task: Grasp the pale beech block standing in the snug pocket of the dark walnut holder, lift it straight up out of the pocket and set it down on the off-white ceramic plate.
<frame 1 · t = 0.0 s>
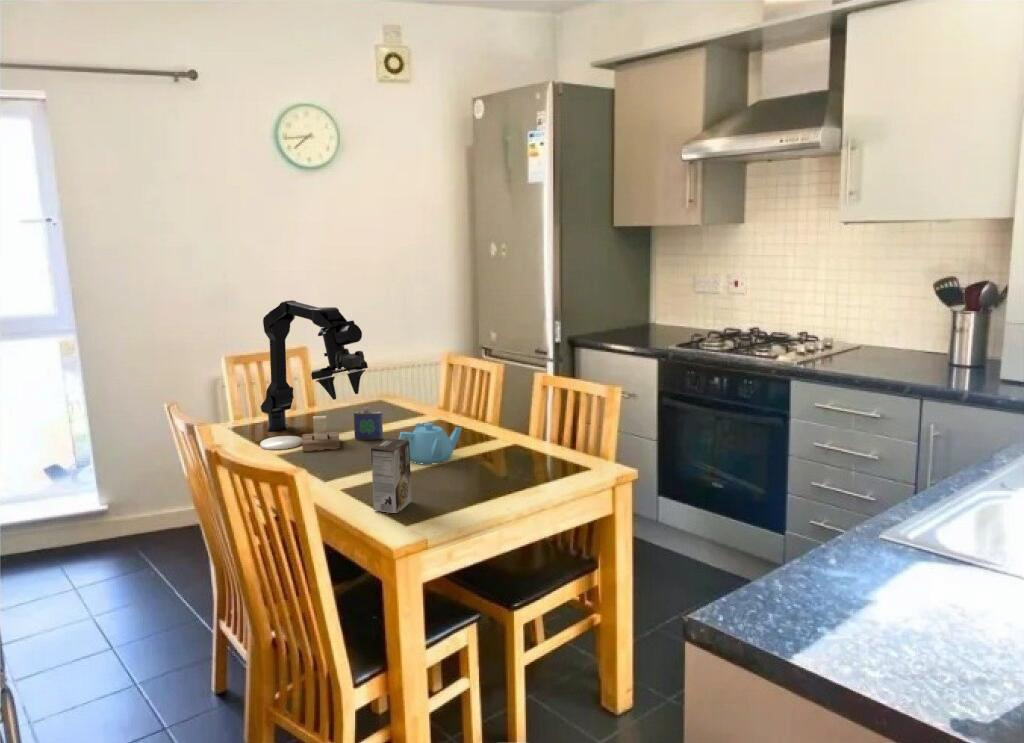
hand: (346, 396, 240), 15 cm above the table, tool pointing down, fingers open, 9 cm apart
coffee box: (392, 507, 189), on the table
holder: (321, 445, 242), on the table
flask: (368, 439, 249), on the table
teapot: (430, 459, 228), on the table
block: (320, 431, 241), in the holder
plate: (282, 443, 244), on the table
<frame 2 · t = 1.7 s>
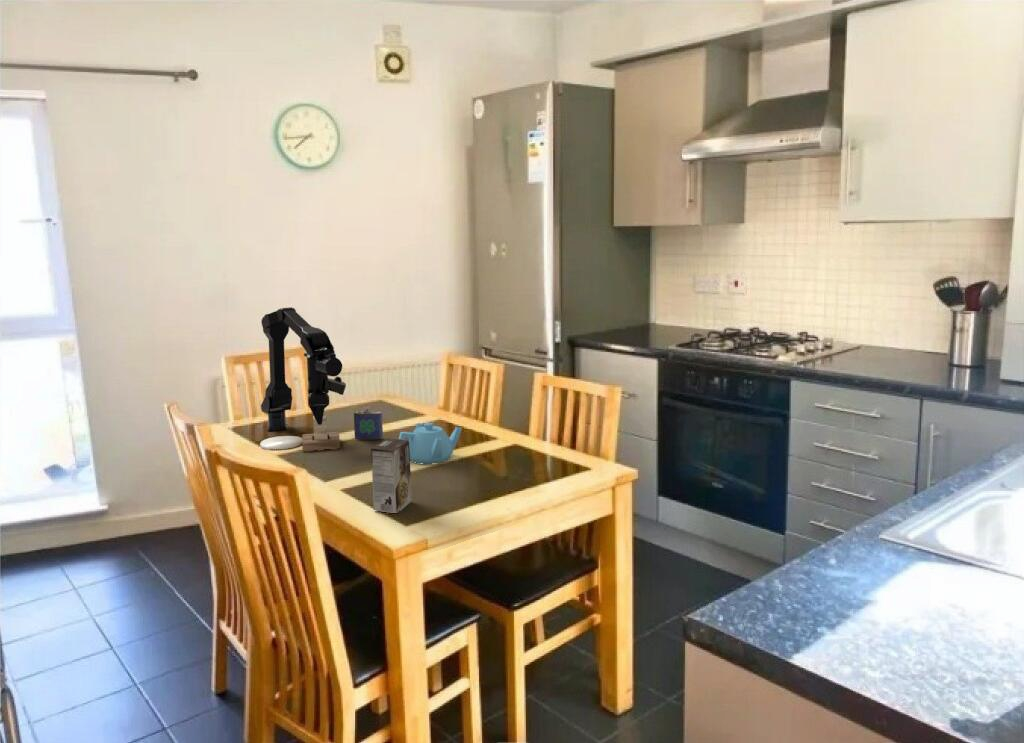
hand: (319, 420, 241), 8 cm above the table, tool pointing down, fingers open, 9 cm apart
nothing on the table moved.
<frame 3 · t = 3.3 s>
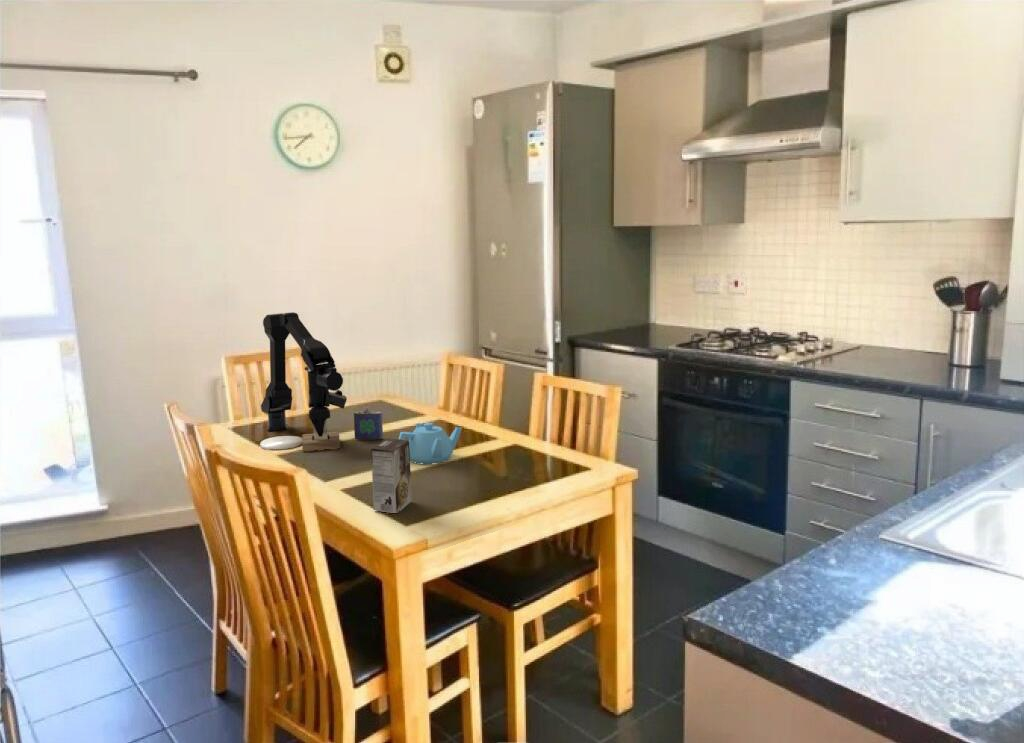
hand: (320, 434, 241), 4 cm above the table, tool pointing down, fingers closed on block, 4 cm apart
block: (320, 431, 241), in the holder, touching gripper
everything else where it was.
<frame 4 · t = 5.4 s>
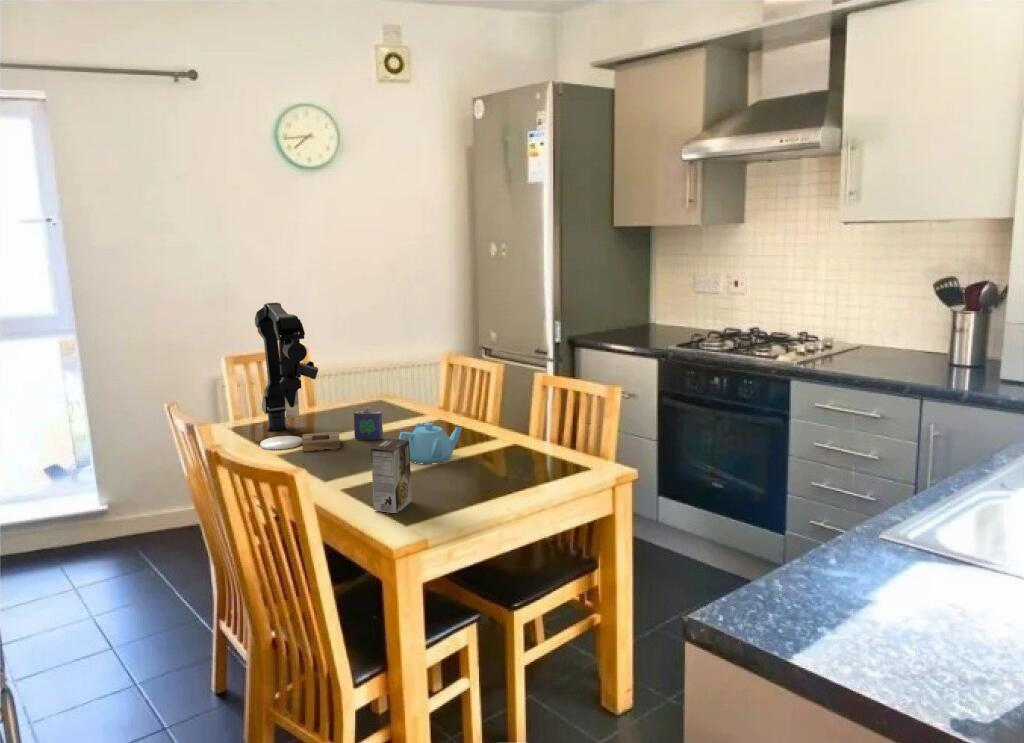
hand: (292, 405, 241), 13 cm above the table, tool pointing down, fingers closed on block, 4 cm apart
block: (291, 402, 241), point 14 cm above the table, touching gripper
everything else where it was.
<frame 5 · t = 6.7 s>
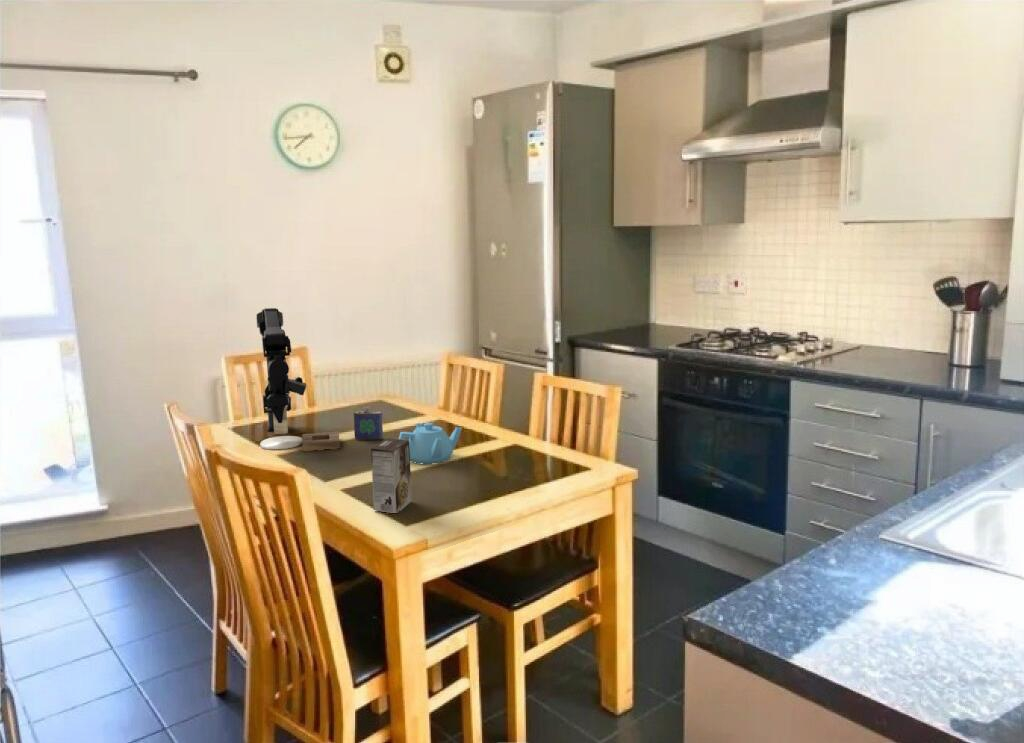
hand: (280, 421, 243), 7 cm above the table, tool pointing down, fingers closed on block, 4 cm apart
block: (280, 418, 242), point 8 cm above the table, touching gripper
everything else where it was.
when the fingers open (5 cm above the table, at t = 7.8 s): block drops 1 cm, resting on plate.
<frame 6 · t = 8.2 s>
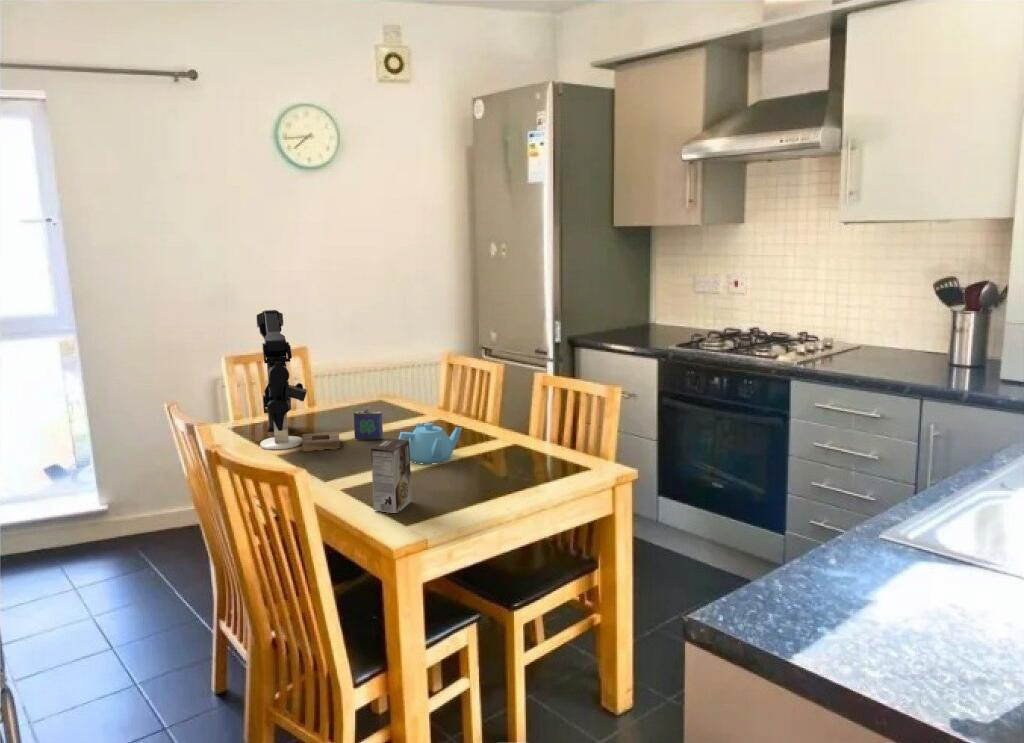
hand: (280, 427, 243), 5 cm above the table, tool pointing down, fingers open, 8 cm apart
block: (280, 427, 243), on the plate, point 5 cm above the table
everything else where it was.
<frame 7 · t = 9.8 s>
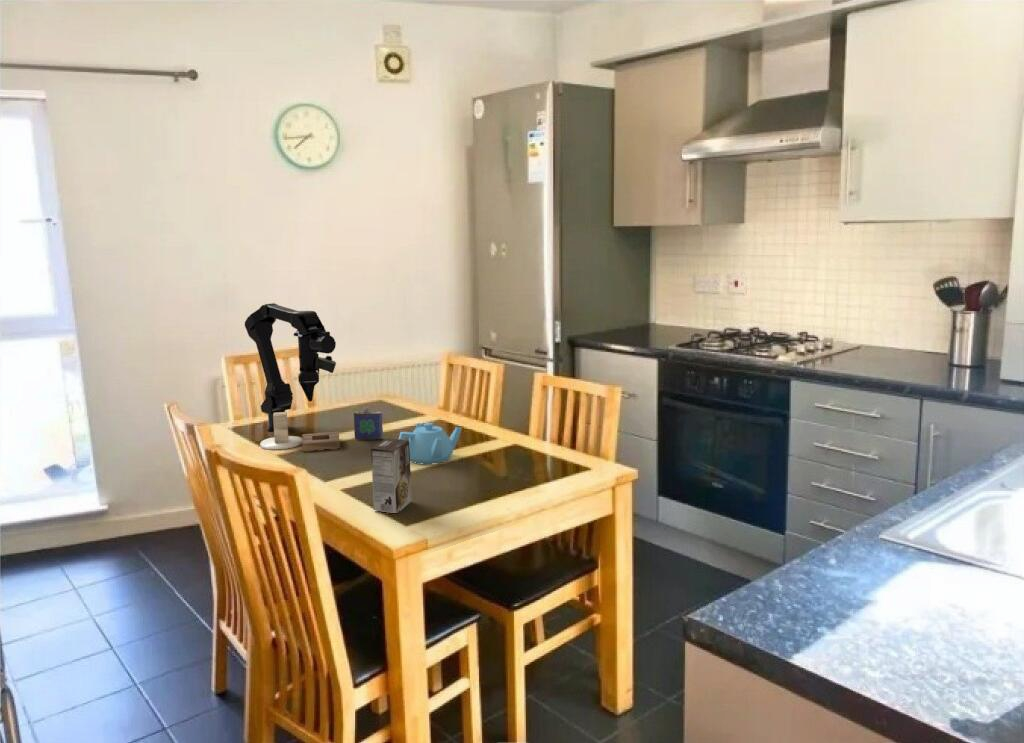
hand: (310, 398, 249), 13 cm above the table, tool pointing down, fingers open, 9 cm apart
nothing on the table moved.
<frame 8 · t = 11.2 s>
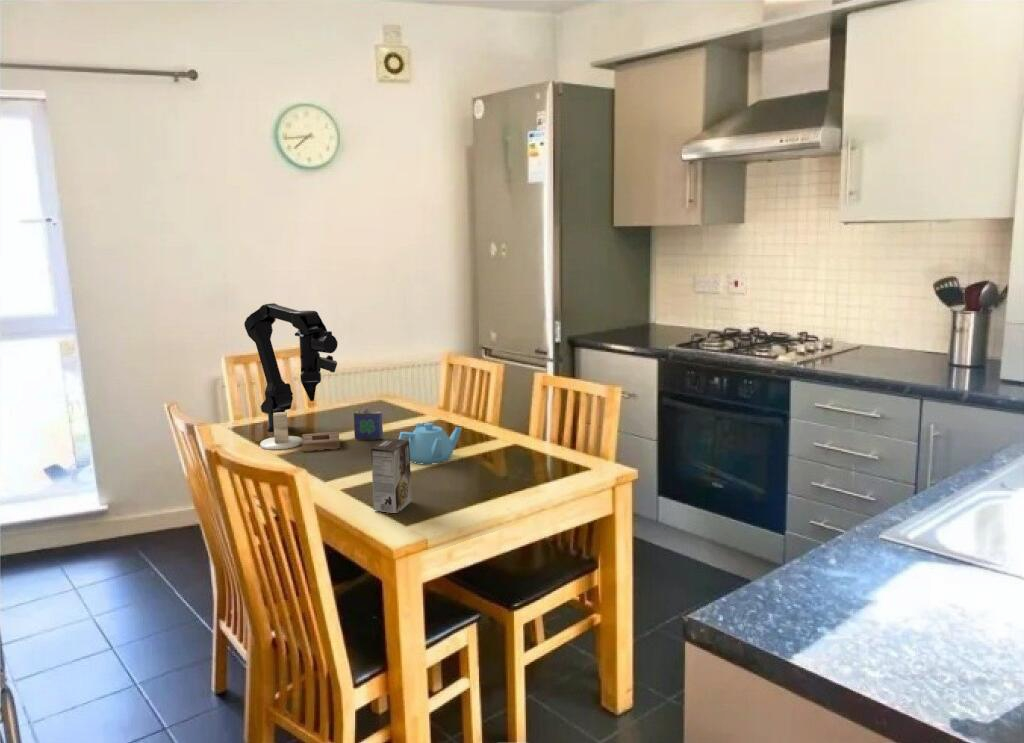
hand: (312, 397, 250), 13 cm above the table, tool pointing down, fingers open, 9 cm apart
nothing on the table moved.
at the end: block 0.0 cm from the plate (horizontally); block point 5.3 cm above the table; the gripper is holding nothing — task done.
